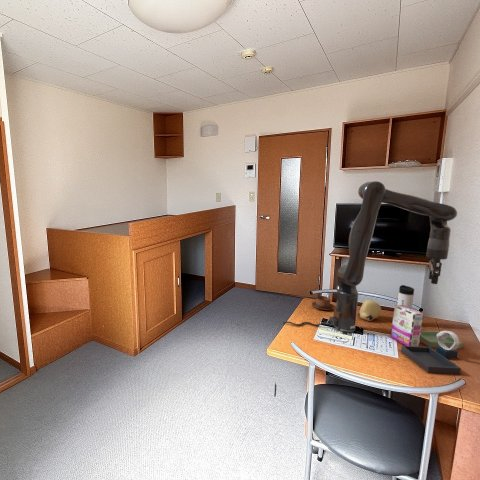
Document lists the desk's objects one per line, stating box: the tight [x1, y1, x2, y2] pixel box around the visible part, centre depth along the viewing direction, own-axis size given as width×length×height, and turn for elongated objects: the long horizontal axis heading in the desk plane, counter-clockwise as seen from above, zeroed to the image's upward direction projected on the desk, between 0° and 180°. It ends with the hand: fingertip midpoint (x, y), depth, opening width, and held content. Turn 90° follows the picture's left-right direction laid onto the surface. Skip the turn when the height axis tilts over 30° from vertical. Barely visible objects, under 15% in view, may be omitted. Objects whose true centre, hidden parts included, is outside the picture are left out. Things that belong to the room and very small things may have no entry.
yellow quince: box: [357, 299, 382, 322], centre depth 174 cm, size 10×12×11 cm
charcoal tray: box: [400, 345, 462, 375], centre depth 132 cm, size 12×17×3 cm
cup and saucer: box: [311, 295, 335, 311], centre depth 190 cm, size 12×12×6 cm
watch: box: [435, 330, 461, 360], centre depth 136 cm, size 6×8×11 cm
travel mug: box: [396, 284, 415, 309], centre depth 168 cm, size 6×7×20 cm
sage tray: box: [420, 330, 463, 349], centre depth 148 cm, size 14×12×3 cm
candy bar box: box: [390, 304, 425, 347], centre depth 147 cm, size 11×5×16 cm, turn 5°
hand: (432, 281), depth 150 cm, fingers open, 8 cm apart
